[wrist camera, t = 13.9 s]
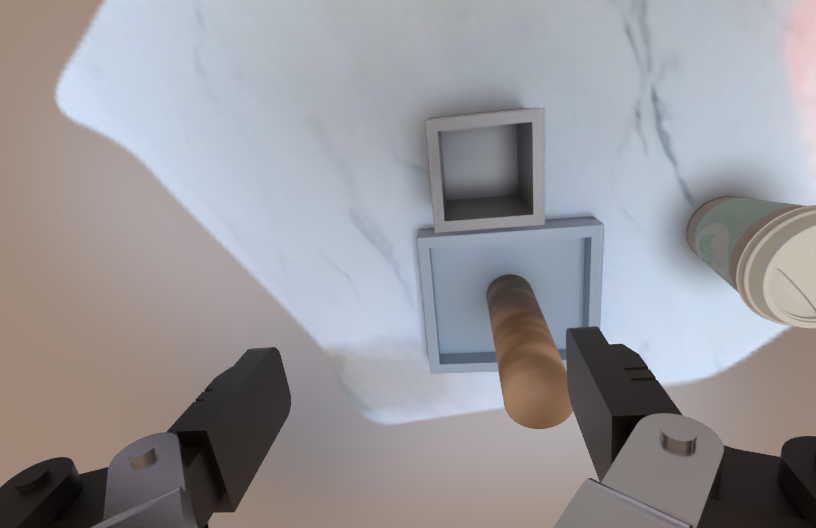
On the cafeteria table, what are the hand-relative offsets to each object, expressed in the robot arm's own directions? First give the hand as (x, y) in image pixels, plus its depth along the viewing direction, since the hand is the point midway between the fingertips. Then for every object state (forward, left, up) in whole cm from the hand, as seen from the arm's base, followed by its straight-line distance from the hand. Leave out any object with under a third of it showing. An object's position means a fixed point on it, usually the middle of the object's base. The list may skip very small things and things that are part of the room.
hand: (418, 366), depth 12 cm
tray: (-5, +11, -30) cm, 33 cm away
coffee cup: (-24, +6, -31) cm, 40 cm away
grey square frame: (-3, -2, -30) cm, 31 cm away
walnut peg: (-6, +11, -29) cm, 32 cm away
